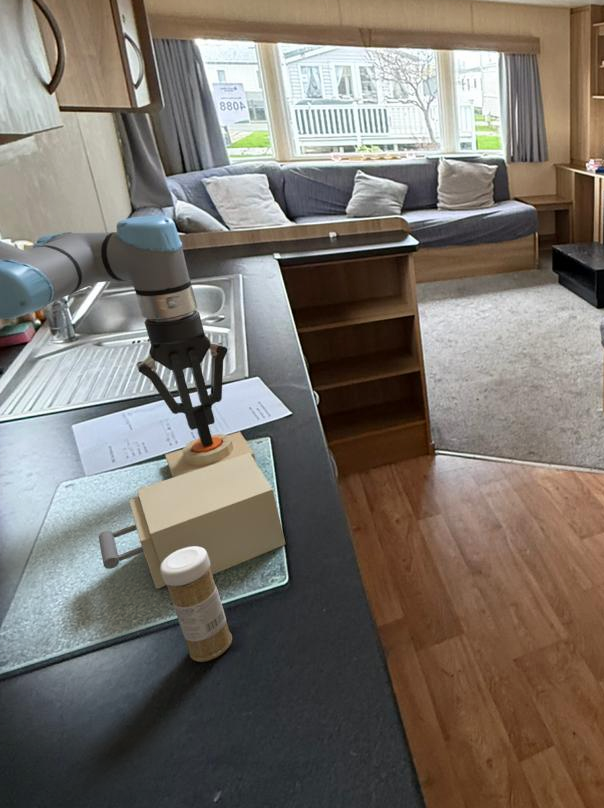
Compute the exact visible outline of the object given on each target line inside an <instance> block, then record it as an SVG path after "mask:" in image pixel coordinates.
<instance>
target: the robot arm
mask: <svg viewBox="0 0 604 808" xmlns="http://www.w3.org/2000/svg"><path fill="white" fill-rule="evenodd" d="M183 246H184V245H183V243H182V241H181V238H180V235H179V233H178V230H177V227H176V223H175V222H174V220H173V219H172V218H170V217H168V216H166V215H156V214H155V215H153V214H152V215H145V216H144V215H143V216H142V215H141V216H140V215H139V216H134V217H128V218H124V219H121V220H119V221H118V222H117V223H116V231H114V232H112V231H111V232H71V231H69V232H68V231H66V232H62V233H54V234H46V235H44V236H41V237H39V238H38V239H37V241H36V243H35V244H34V245H33V246H32V247H31V248H29V249H23V248H19V247H17V246H14V245H12V244H9V243H7V242H4V241H1V240H0V320H1V319H2V320H11V319H16V318H17V319H18V318H20V317H22V316H26V315H28V314H30V313H36V312H39V311H40V310H42V309H44V308H45V307H47V306H49V305H51V304H53V303H55V302H57V301H59V300H61V299H63V298H65V297H67V296H70V295H72V294H74V293H77V292H78V291H81V290H83V289H86V288H87V287H89V286H91V285H94V284H97V283H109V282H128V281H131V283H132V286H133V289H134V291H135V292H134V293H135V296H136V299H137V302H138V305H139V309H140V313H141V316H142V318H144V319H145V321H144V326H145V329H146V332H147V336H148V340H149V343H150V349H149V350H148V351H149V356H147V357H146V358H145V359H144V360H142V361H141V360H140V361H138V362H137V363H136V367H137V371H138V372H139V373H140V374H142V375H143V376H144V377H146V378H148V379H149V381H151V384H152V385H153V386H154V388H155V389H156V391H157V393H158V394H159V395H160V396H161V399H162V400H163V401H164V403H165V404H166V406H167V407H168V409H169V410H170V411H171V413H172V414H174V415H178V414H184V415H185V419H186V422H187V425H188V427H189V429H190V430H191V431H194V430H197V433H198V438H200V441H201V443H202V444H203V446H204V447H205V446H208V445H211V444H213V441H212V437H211V435H212V433H211V429H210V425H213V424H215V416H214V412H213V409H212V406H213V405H214V404H216V403H220V402H221V401H222V399H223V377H224V373H223V372H224V360H225V357H226V356H227V353H228V348H227V346H226V345H225V343H223V342H218V343H216V342H213V341H211V340H210V339H209V337H208V336H207V335H206V334H205V329H204V326H203V323H202V319H201V315H200V312H199V311H198V310H197V309H198V303H197V300H196V296H195V293H194V289H193V285H192V282H191V278H190V275H189V271H188V267H187V263H186V259H185V254H184V249H183ZM208 351H209V354H210V355H211V371H210V372H211V373H210V374H211V375H210V394H209V393H208V389H207V385H206V382H205V377H204V374H203V370H202V365H201V364H202V362H203V361H204V359H205V357H206V355H207V353H208ZM156 362H157V364H158V363H159V364H160V365H161V366H163V367H165V368H166V369H167V370H170V371H172V374H173V379H174V381H175V385H176V388H177V392H178V395H179V399H180V402H177V401H176V400H175V398H174V396H173V395H172V393H171V392H170V391H169V389H168V387H167V386H166V384H165V383H164V381H163V380H162V378H161V377H160V375H159V373H158V372H157V369H158V367H157V364H156ZM186 369H190V371H191V375H192V378H193V382H194V385H195V389H196V393H197V397H198V400H199V403H200V404H199V405H195V406H193V402H192V399H191V396H190V392H189V388H188V385H187V381H186V378H185V372H184V371H185V370H186Z"/></svg>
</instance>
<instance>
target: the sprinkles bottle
mask: <svg viewBox="0 0 604 808" xmlns="http://www.w3.org/2000/svg"><path fill="white" fill-rule="evenodd" d="M160 571H161V574H162V577H163V580H164V582H165V583H166V585H165V586H166V587H167V586H168V587H167V589H169V590H168V592H169V594H170V597H171V602H172V606H173V608H174V612H175V614H176V617H177V620H178V624H179V626H180V630H181V632H182V635H183V637H184V639H185V642H186V645H187V648H188V650H189V652H188V654H189V658H190V659H192V660H193V661H194V662H197V663H198V662H199V663H204V662H208V661H212V660H214V659H217V658H219V657H220V656H221V655H223V654H224V653H225V652H226V651H227V650H228V649H229V648H230V646H231V645H232V641H233V635H232V633H231V631H230V630H229V626H228V622H227V618H226V613H225V610H224V607H223V603H222V600H221V596H220V593H219V591H218V587H217V585H216V583H215V580H214V576H213V575H212V573H211V570H210V560H209V557H208V554H207V552H206V550H205V549H204V548H202V547H198V546H193V547H186V548H183V549H180V550H178V551H176V552H174V553H172V554H170V555H169V556H168V557H167V558H165V559H164V561H163V562H162V564H161V566H160Z"/></svg>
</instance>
